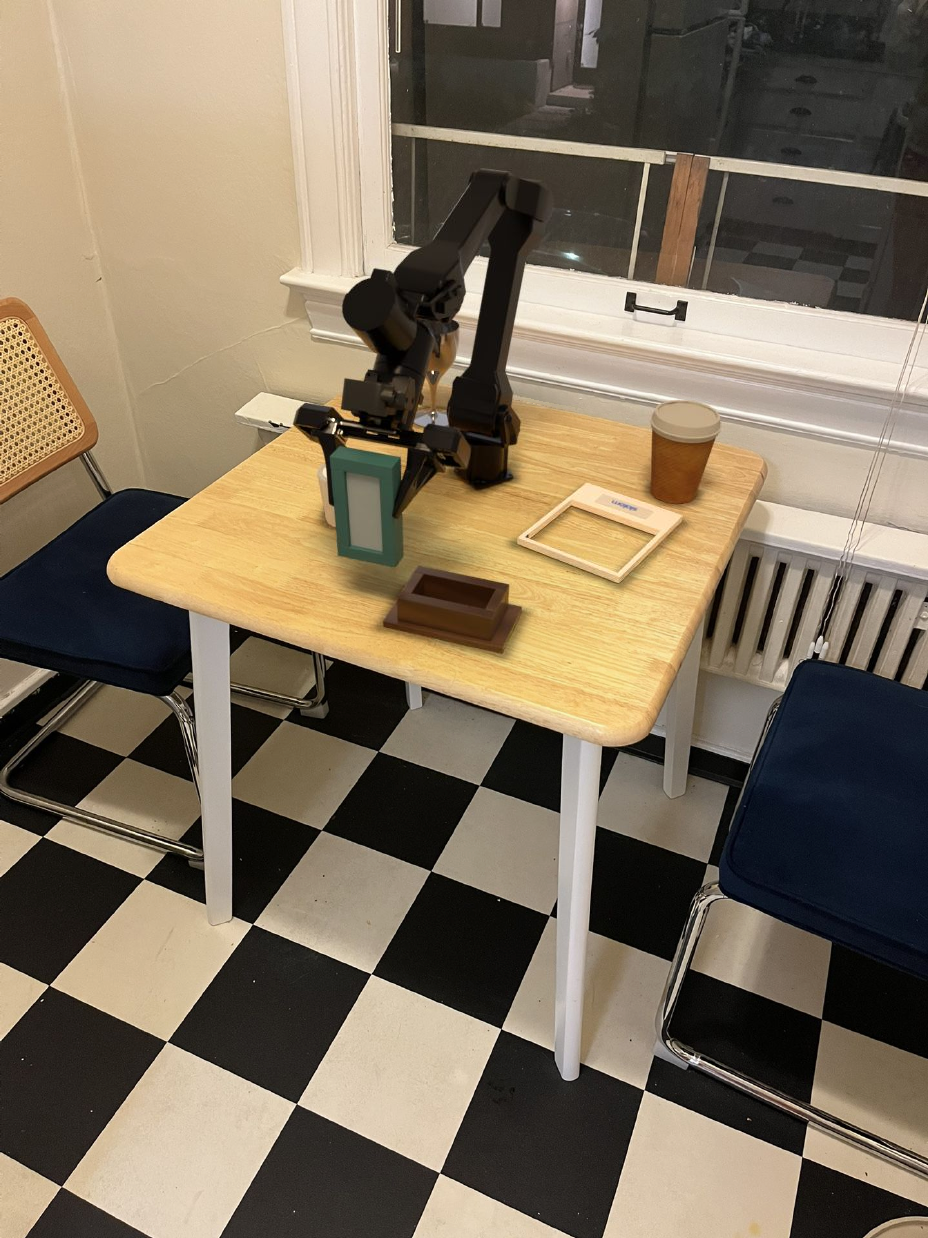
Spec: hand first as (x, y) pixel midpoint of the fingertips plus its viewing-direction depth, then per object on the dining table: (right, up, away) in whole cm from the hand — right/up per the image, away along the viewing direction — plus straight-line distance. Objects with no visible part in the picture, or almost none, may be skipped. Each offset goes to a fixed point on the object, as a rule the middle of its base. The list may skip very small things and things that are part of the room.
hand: (362, 511), depth 97 cm
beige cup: (-5, +2, +24) cm, 24 cm away
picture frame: (0, -4, +5) cm, 7 cm away
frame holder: (+10, -12, +6) cm, 16 cm away
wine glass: (+6, +21, +48) cm, 53 cm away
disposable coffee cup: (+40, +6, +31) cm, 51 cm away
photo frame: (+29, 0, +22) cm, 36 cm away
